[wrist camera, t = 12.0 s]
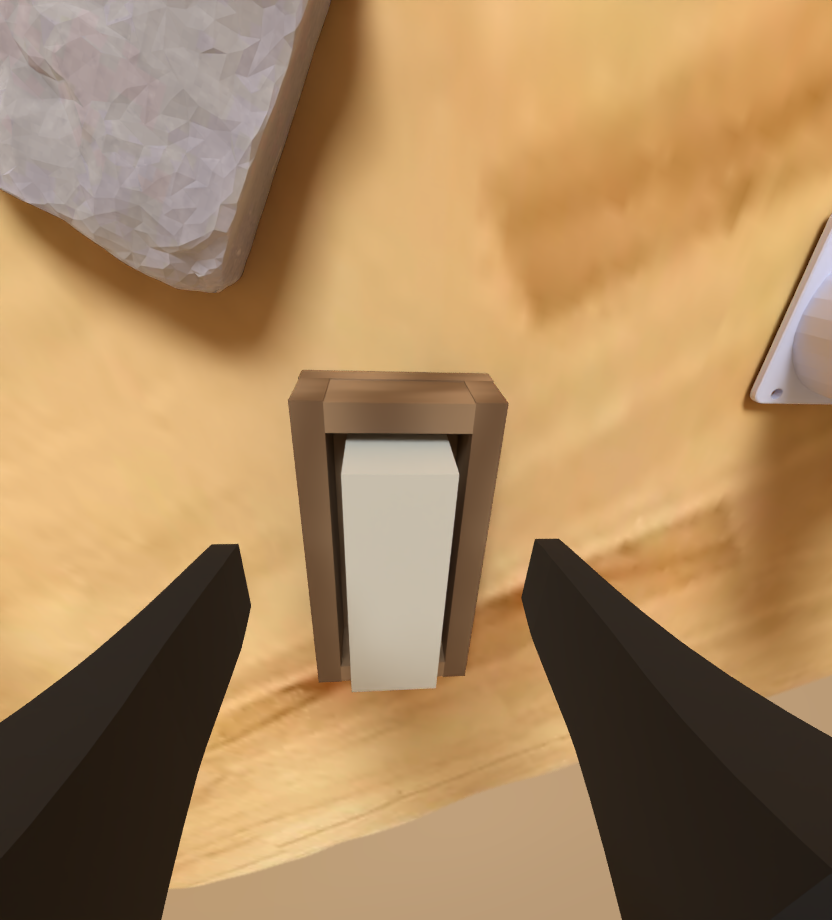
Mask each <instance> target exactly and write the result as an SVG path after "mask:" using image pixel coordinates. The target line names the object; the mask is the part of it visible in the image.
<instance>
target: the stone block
mask: <svg viewBox="0 0 832 920" xmlns="http://www.w3.org/2000/svg"><path fill="white" fill-rule="evenodd" d="M330 2H331V0H0V189H1V190H3V191H5V192H7V193H8V194H10V195H12V196H14V197H16V198H17V199H19V200H21V201H24V202H27V203H29V204H31V205H33V206H35V207H37V208H40V209H42V210H44V211H46V212H48V213H50V214H52V215H54V216H56V217H58V218H60V219H62V220H64V221H66V222H67V223H68V224H69V225H71V226H72V227H73V228H75V229H76V230H77V231H79V232H80V233H81V234H83V235H84V236H86V237H87V238H89V239H90V240H92V241H93V242H95V243H96V244H98V245H99V246H101V247H102V248H104V249H105V250H107V251H108V252H109V253H111V254H112V255H113V256H115V257H116V258H118V259H119V260H120V261H122V262H124V263H125V264H127V265H128V266H130V267H132V268H134V269H136V270H138V271H140V272H142V273H143V274H145V275H147V276H149V277H152V278H154V279H157V280H160V281H162V282H164V283H166V284H168V285H170V286H172V287H174V288H177V289H183V290H191V291H202V292H207V293H217V292H221V291H222V290H223V289H225V288H226V287H227V286H230V285H232V284H233V283H235V282H236V281H238V280H239V279H240V277H241V275H242V273H243V271H244V267H245V263H246V260H247V258H248V255H249V253H250V250H251V247H252V243H253V240H254V237H255V234H256V230H257V227H258V223H259V220H260V217H261V215H262V212H263V209H264V206H265V203H266V200H267V197H268V193H269V190H270V187H271V184H272V180H273V177H274V174H275V171H276V168H277V165H278V162H279V159H280V157H281V154H282V151H283V148H284V145H285V142H286V139H287V135H288V132H289V129H290V126H291V123H292V120H293V117H294V113H295V111H296V108H297V105H298V102H299V99H300V96H301V92H302V89H303V86H304V82H305V79H306V76H307V73H308V70H309V67H310V63H311V59H312V56H313V52H314V49H315V47H316V44H317V41H318V38H319V35H320V32H321V29H322V27H323V24H324V21H325V18H326V15H327V12H328V9H329V6H330Z"/></svg>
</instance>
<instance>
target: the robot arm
mask: <svg viewBox="0 0 832 920" xmlns="http://www.w3.org/2000/svg"><path fill="white" fill-rule="evenodd" d="M774 390H775V392H774V393H773V394H772V392H773V391H774ZM771 394H772V395H771ZM750 398H751V399H752V400H753V401H755V402H757V403H761V404H832V214H831V216H830V217H829V219H828V222H827V224H826V226H825V228H824V230H823V233H822V235H821V237H820V239H819V241H818V244H817V246H816V248H815V250H814V253H813V255H812V257H811V259H810V261H809V264H808V266H807V268H806V270H805V272H804V275H803V277H802V279H801V281H800V283H799V286H798V288H797V290H796V292H795V295H794V297H793V299H792V301H791V303H790V306H789V308H788V310H787V312H786V314H785V317H784V319H783V321H782V323H781V326H780V328H779V330H778V332H777V334H776V337H775V339H774V341H773V343H772V345H771V348H770V350H769V352H768V354H767V357H766V359H765V361H764V363H763V365H762V368H761V370H760V372H759V374H758V376H757V379H756V381H755V383H754V385H753V388H752V390H751V393H750ZM521 598H522V602H523V606H524V610H525V614H526V618H527V622H528V626H529V629H530V633H531V637H532V639H533V642H534V644H535V647H536V650H537V652H538V655H539V657H540V660H541V662H542V665H543V668H544V670H545V673H546V675H547V678H548V680H549V683H550V685H551V688H552V690H553V693H554V695H555V698H556V700H557V703H558V705H559V708H560V710H561V713H562V715H563V718H564V720H565V723H566V725H567V728H568V731H569V733H570V736H571V739H572V742H573V745H574V747H575V750H576V754H577V757H578V760H579V764H580V767H581V770H582V773H583V777H584V780H585V784H586V787H587V790H588V794H589V797H590V801H591V804H592V808H593V811H594V815H595V818H596V822H597V826H598V829H599V833H600V837H601V840H602V844H603V847H604V851H605V855H606V859H607V863H608V867H609V871H610V874H611V878H612V882H613V886H614V890H615V894H616V898H617V902H618V906H619V910H620V913H621V918H622V920H832V737H830V736H829V735H827V734H825V733H823V732H822V731H820V730H818V729H816V728H815V727H813V726H811V725H809V724H808V723H806V722H804V721H802V720H801V719H799V718H797V717H796V716H794V715H792V714H790V713H789V712H787V711H785V710H784V709H782V708H780V707H779V706H777V705H775V704H774V703H772V702H771V701H769V700H767V699H766V698H764V697H763V696H761V695H759V694H758V693H756V692H755V691H753V690H751V689H750V688H748V687H746V686H745V685H743V684H742V683H740V682H739V681H737V680H736V679H734V678H733V677H731V676H730V675H728V674H726V673H725V672H723V671H722V670H721V669H719V668H718V667H716V666H715V665H713V664H712V663H711V662H709V661H708V660H706V659H705V658H703V657H702V656H700V655H699V654H698V653H696V652H695V651H693V650H692V649H690V648H689V647H688V646H686V645H685V644H684V643H682V642H681V641H679V640H678V639H677V638H675V637H674V636H673V635H672V634H670V633H669V632H668V631H666V630H665V629H664V628H663V627H661V626H660V625H659V624H657V623H656V622H655V621H654V620H652V619H651V618H650V617H648V616H647V615H646V614H645V613H644V612H642V611H641V610H640V609H639V608H637V607H636V606H635V605H634V604H633V603H631V602H630V601H629V600H628V599H627V598H625V597H624V596H623V595H622V594H621V593H620V592H618V591H617V590H616V589H615V588H614V587H613V586H612V585H610V584H609V583H608V582H607V581H606V580H605V579H604V578H602V577H601V576H600V575H599V574H598V573H597V572H596V571H595V570H593V569H592V568H591V567H590V566H589V565H588V564H587V563H586V562H585V561H583V560H582V559H581V558H580V557H579V556H578V555H577V554H576V553H574V552H573V551H572V550H571V549H570V548H569V547H568V546H567V545H565V544H564V543H563V542H562V541H561V540H559V539H535V541H534V546H533V550H532V554H531V559H530V563H529V567H528V572H527V576H526V580H525V584H524V589H523V593H522V597H521ZM250 608H251V603H250V598H249V593H248V588H247V583H246V579H245V574H244V569H243V564H242V559H241V554H240V549H239V545H238V544H214V545H211V546H210V547H209V548H207V549H206V550H205V551H204V552H203V553H202V554H201V555H200V556H199V557H198V558H197V559H196V560H195V561H194V562H193V563H192V564H190V565H189V566H188V567H187V568H186V569H185V570H184V571H183V572H182V573H181V574H180V575H179V576H178V577H177V578H176V579H175V580H174V581H173V582H172V583H171V584H170V585H169V586H168V587H167V588H166V589H164V590H163V591H162V592H161V593H160V594H159V595H158V596H157V597H156V598H155V599H154V600H153V601H152V602H150V603H149V604H148V605H147V606H146V607H145V608H144V609H143V610H142V611H141V612H140V613H139V614H138V615H136V616H135V617H134V618H133V619H132V620H131V621H130V622H129V623H127V624H126V625H125V626H124V627H123V628H122V629H120V630H119V631H118V632H117V633H116V634H115V635H113V636H112V637H111V638H110V639H109V640H108V641H106V642H105V643H104V644H103V645H102V646H101V647H100V648H98V649H97V650H96V651H95V652H94V653H92V654H91V655H90V656H89V657H88V658H86V659H85V660H84V661H83V662H81V663H80V664H79V665H78V666H76V667H75V668H74V669H72V670H71V671H70V672H69V673H67V674H66V675H65V676H64V677H62V678H61V679H60V680H58V681H57V682H56V683H54V684H53V685H52V686H50V687H49V688H48V689H46V690H45V691H44V692H42V693H41V694H40V695H38V696H37V697H36V698H34V699H33V700H32V701H30V702H29V703H27V704H26V705H25V706H23V707H22V708H21V709H19V710H18V711H16V712H15V713H13V714H12V715H10V716H9V717H8V718H6V719H5V720H3V721H2V722H0V920H161V918H162V914H163V909H164V905H165V900H166V896H167V892H168V888H169V884H170V880H171V876H172V871H173V867H174V863H175V859H176V855H177V851H178V847H179V843H180V839H181V835H182V831H183V827H184V823H185V819H186V816H187V812H188V808H189V804H190V800H191V797H192V793H193V789H194V785H195V781H196V778H197V774H198V771H199V768H200V764H201V761H202V758H203V755H204V752H205V749H206V746H207V743H208V740H209V738H210V735H211V732H212V729H213V727H214V724H215V721H216V718H217V715H218V713H219V710H220V707H221V704H222V702H223V699H224V696H225V693H226V690H227V688H228V685H229V682H230V679H231V676H232V674H233V671H234V668H235V665H236V662H237V659H238V657H239V654H240V651H241V648H242V644H243V640H244V635H245V631H246V627H247V622H248V618H249V613H250Z"/></svg>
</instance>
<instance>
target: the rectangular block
mask: <svg viewBox="0 0 832 920" xmlns="http://www.w3.org/2000/svg"><path fill="white" fill-rule="evenodd" d="M458 482H459V472H458V468H457V465H456V462H455V459H454V456H453V453H452V450H451V447H450V444H449V441H448V438H447V435H446V434H412V433H347V438H346V444H345V451H344V458H343V465H342V472H341V483H342V504H343V524H344V544H345V565H346V585H347V605H348V626H349V646H350V666H351V687H352V692H366V691H387V690H407V689H428V688H436V682H437V673H438V664H439V655H440V646H441V637H442V627H443V618H444V609H445V600H446V591H447V582H448V573H449V564H450V555H451V546H452V536H453V527H454V518H455V509H456V500H457V491H458Z"/></svg>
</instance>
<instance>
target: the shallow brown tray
mask: <svg viewBox="0 0 832 920" xmlns="http://www.w3.org/2000/svg"><path fill="white" fill-rule="evenodd" d="M493 382H494V381H493V380H492V378H491V377H490V376H489V374H477V373H426V372H375V371H323V370H302V371H301V373H300V375H299V377H298V382H297V384H296V386H295V388H294V390H293V392H292V394H291V396H290V398H289V400H288V405H289V414H290V423H291V432H292V441H293V450H294V460H295V469H296V478H297V487H298V496H299V505H300V514H301V524H302V533H303V542H304V551H305V560H306V569H307V578H308V588H309V597H310V606H311V615H312V624H313V633H314V643H315V652H316V661H317V670H318V679H319V682H339V681H348V680H351V666H350V646H349V626H348V605H347V585H346V565H345V544H344V524H343V504H342V483H341V472H342V465H343V458H344V451H345V444H346V438H347V433H412V434H446V435H447V438H448V441H449V444H450V447H451V450H452V453H453V456H454V459H455V462H456V465H457V468H458V472H459V482H458V491H457V500H456V509H455V518H454V527H453V536H452V546H451V555H450V564H449V573H448V582H447V591H446V600H445V609H444V618H443V627H442V637H441V646H440V655H439V664H438V673H437V676H443V677H448V676H465V670H466V664H467V658H468V652H469V646H470V639H471V633H472V627H473V621H474V614H475V608H476V602H477V596H478V590H479V583H480V577H481V571H482V565H483V559H484V552H485V546H486V540H487V534H488V528H489V521H490V515H491V509H492V503H493V496H494V490H495V484H496V478H497V472H498V465H499V459H500V453H501V447H502V441H503V434H504V428H505V422H506V416H507V410H508V402H507V401H506V399H505V398H504V396H503V395H502V394H501V392H500V391H499V389H498V388H497V387H496V385H495V384H494V383H493Z"/></svg>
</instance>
